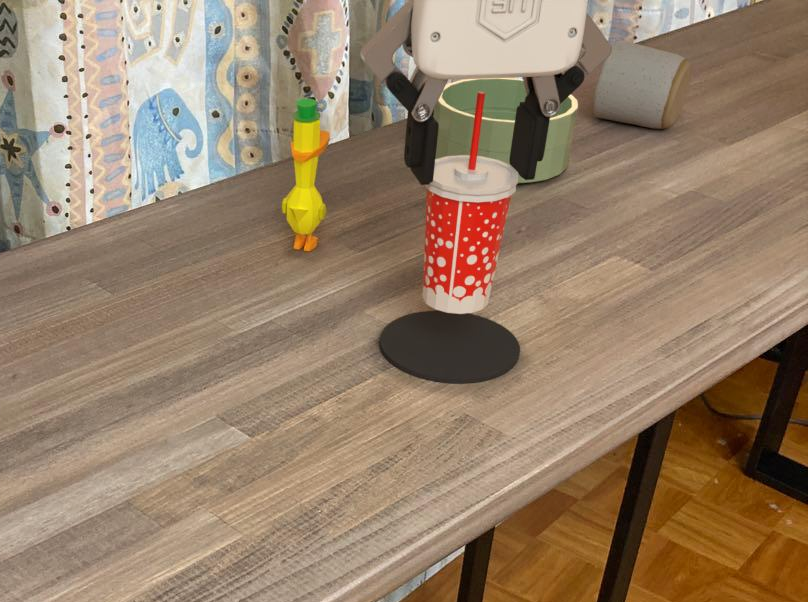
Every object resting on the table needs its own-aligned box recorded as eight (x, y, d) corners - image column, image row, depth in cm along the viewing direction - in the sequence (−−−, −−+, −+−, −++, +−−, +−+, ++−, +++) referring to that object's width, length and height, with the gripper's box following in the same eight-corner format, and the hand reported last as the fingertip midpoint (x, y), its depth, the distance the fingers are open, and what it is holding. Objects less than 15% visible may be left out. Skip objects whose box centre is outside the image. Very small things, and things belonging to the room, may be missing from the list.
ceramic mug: (664, 140, 115) (683, 61, 110) (586, 125, 118) (602, 48, 113) (690, 113, 122) (709, 37, 117) (616, 99, 125) (631, 26, 120)
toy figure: (299, 225, 97) (303, 82, 90) (338, 232, 96) (346, 88, 89) (272, 257, 92) (274, 108, 85) (313, 264, 91) (319, 114, 84)
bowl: (566, 143, 114) (577, 82, 110) (567, 193, 104) (579, 127, 100) (435, 133, 116) (441, 72, 112) (424, 180, 106) (430, 116, 102)
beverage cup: (507, 287, 80) (540, 84, 71) (488, 325, 75) (520, 113, 67) (424, 272, 82) (445, 72, 73) (400, 309, 77) (420, 100, 68)
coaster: (520, 322, 84) (521, 317, 84) (517, 391, 76) (518, 386, 76) (387, 308, 85) (388, 304, 85) (371, 374, 78) (371, 369, 78)
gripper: (374, -135, 58) (353, 204, 69) (690, -139, 60) (620, 190, 71) (344, -156, 63) (329, 159, 75) (634, -159, 66) (577, 148, 77)
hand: (471, 172), depth 73 cm, fingers closed on beverage cup, 6 cm apart
